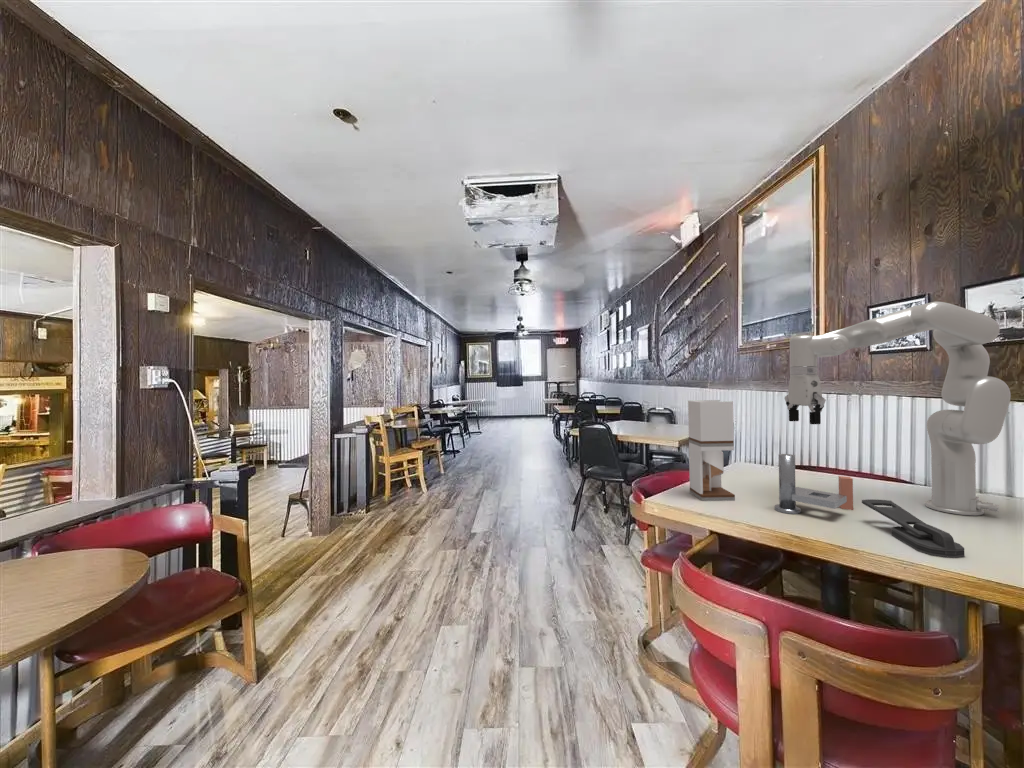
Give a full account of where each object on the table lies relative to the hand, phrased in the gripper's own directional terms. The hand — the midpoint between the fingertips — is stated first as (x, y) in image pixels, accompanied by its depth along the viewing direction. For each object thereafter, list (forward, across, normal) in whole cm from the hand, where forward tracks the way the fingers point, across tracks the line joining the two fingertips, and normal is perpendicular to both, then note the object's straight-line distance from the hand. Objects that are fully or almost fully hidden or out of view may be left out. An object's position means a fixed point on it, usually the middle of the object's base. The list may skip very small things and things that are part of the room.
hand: (804, 422), depth 137 cm
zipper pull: (+28, -30, -5) cm, 41 cm away
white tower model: (+28, +11, +26) cm, 40 cm away
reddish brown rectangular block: (+28, -6, -9) cm, 30 cm away
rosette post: (+28, -9, +6) cm, 29 cm away
